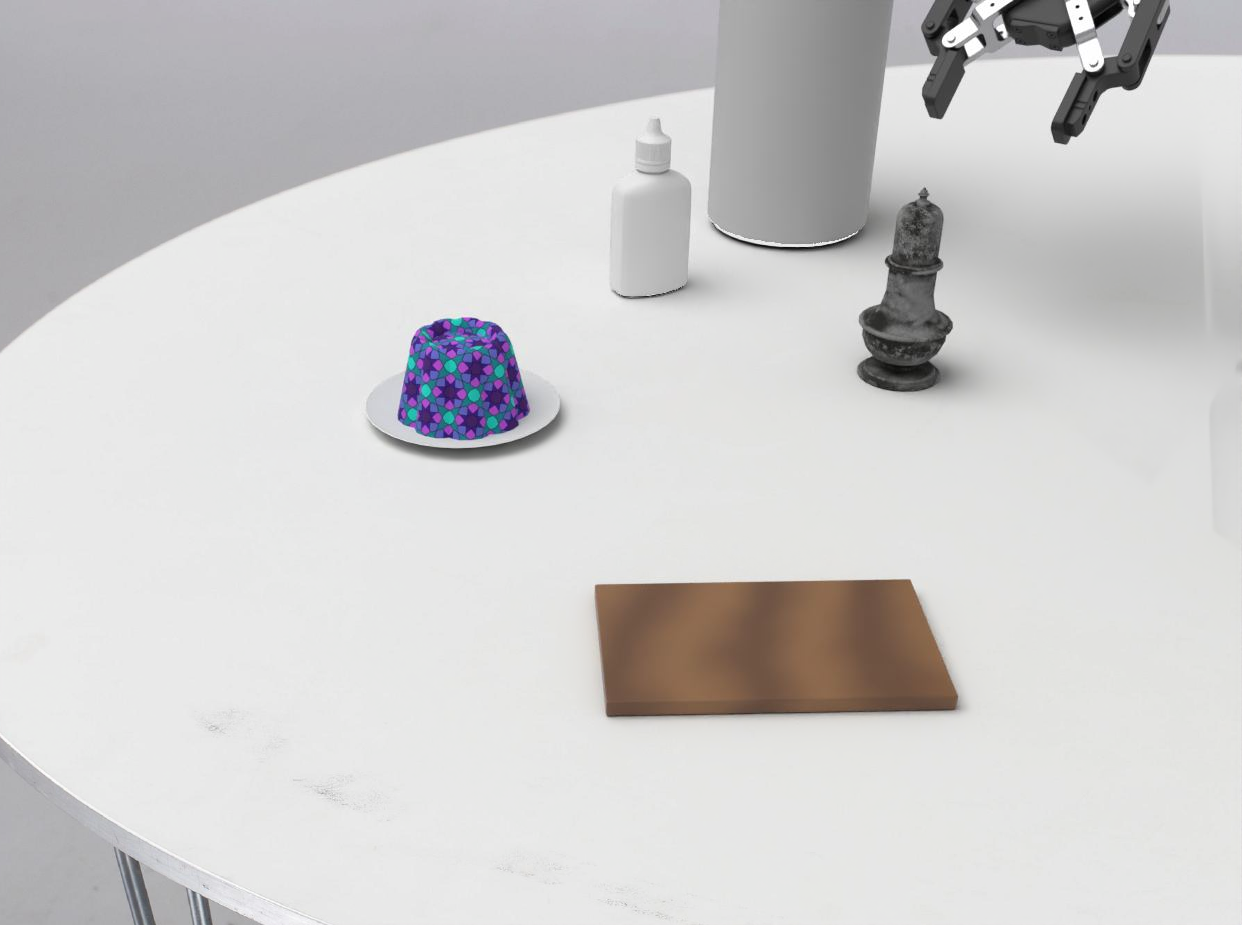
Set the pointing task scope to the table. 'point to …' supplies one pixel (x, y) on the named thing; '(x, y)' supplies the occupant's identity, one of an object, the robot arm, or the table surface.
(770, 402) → the table surface
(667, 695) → the wooden board
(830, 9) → the cylinder vase
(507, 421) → the pudding
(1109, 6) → the robot arm
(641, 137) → the eye dropper bottle
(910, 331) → the salt shaker
